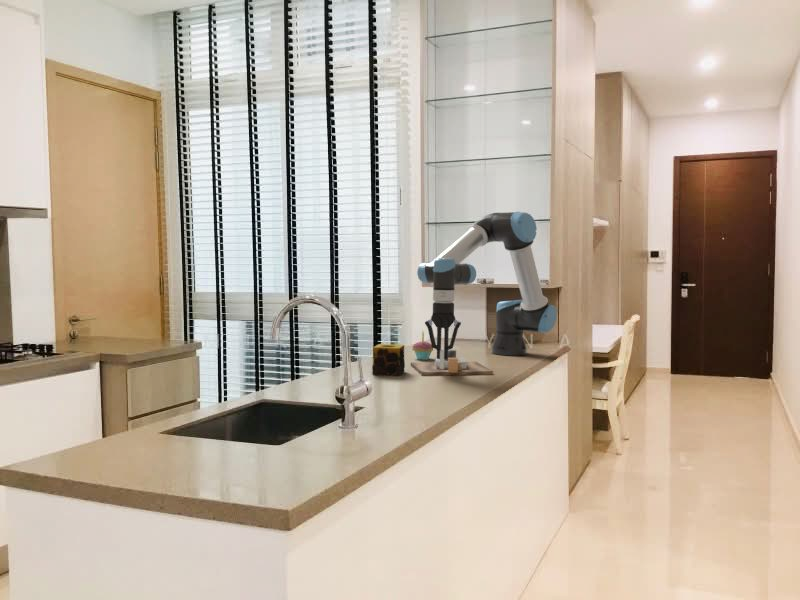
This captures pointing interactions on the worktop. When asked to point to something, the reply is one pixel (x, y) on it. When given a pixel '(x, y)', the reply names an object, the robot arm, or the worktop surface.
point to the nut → (452, 364)
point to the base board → (431, 369)
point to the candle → (388, 359)
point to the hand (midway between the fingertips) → (442, 368)
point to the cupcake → (422, 349)
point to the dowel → (459, 366)
